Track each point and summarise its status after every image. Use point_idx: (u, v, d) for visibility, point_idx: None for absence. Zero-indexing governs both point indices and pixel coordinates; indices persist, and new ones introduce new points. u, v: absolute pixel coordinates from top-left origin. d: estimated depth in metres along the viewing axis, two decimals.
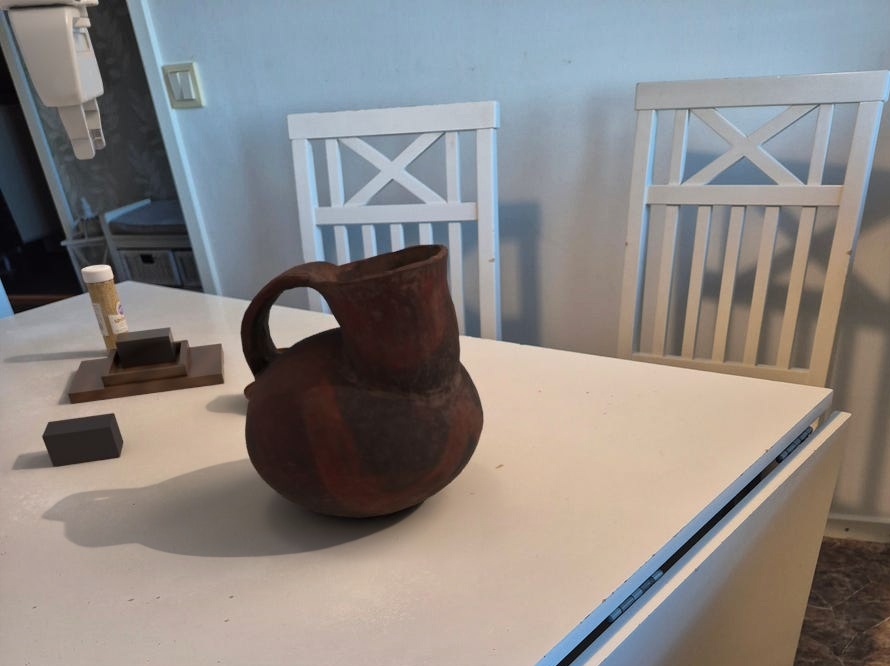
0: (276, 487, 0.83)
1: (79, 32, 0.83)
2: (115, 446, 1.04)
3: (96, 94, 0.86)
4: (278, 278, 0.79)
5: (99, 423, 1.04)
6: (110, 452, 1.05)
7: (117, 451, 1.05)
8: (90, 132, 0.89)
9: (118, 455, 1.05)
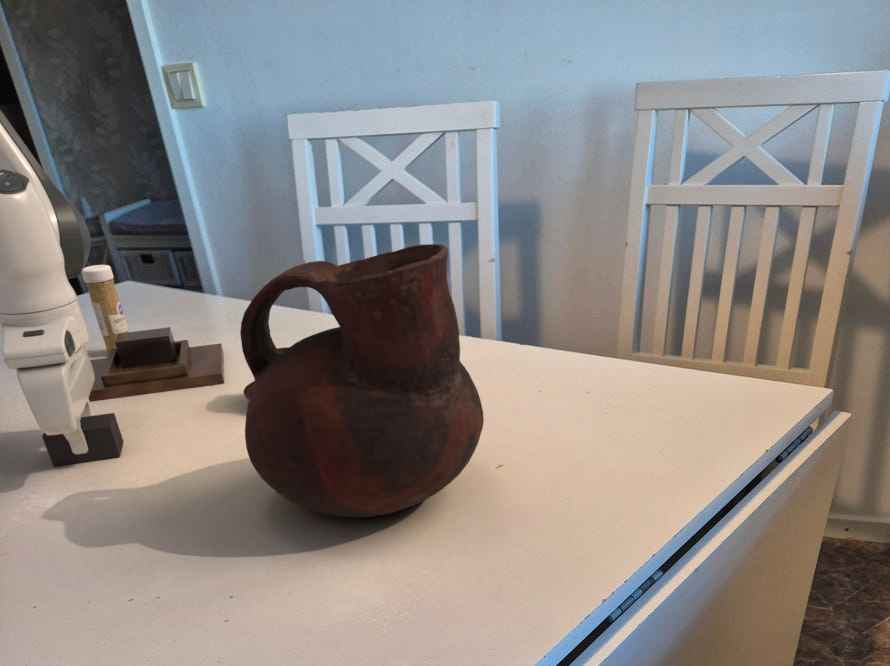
0: (276, 487, 0.83)
1: None
2: (115, 446, 1.04)
3: (88, 396, 1.05)
4: (278, 278, 0.79)
5: (99, 422, 1.04)
6: (110, 452, 1.05)
7: (117, 451, 1.05)
8: None
9: (118, 455, 1.05)
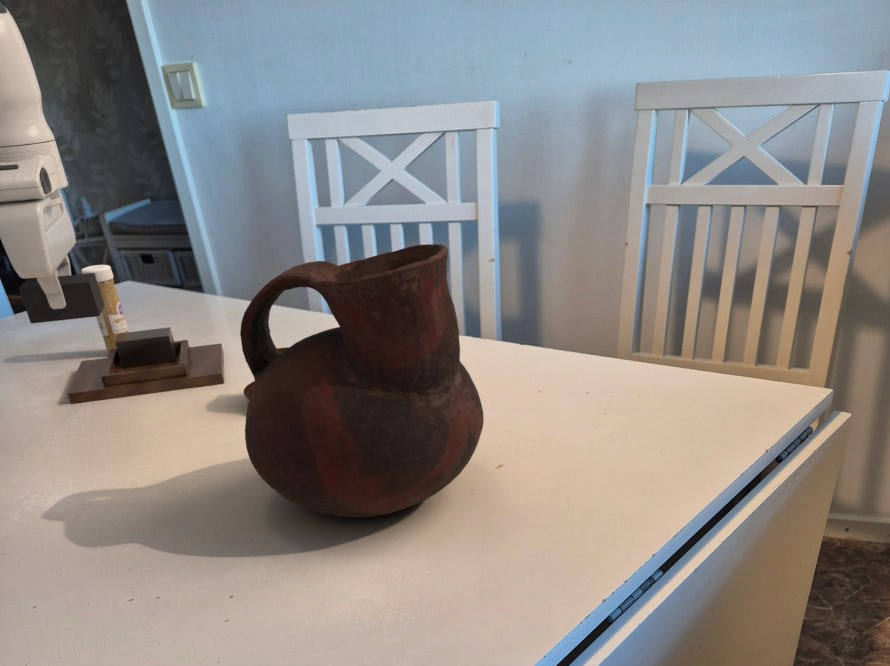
0: (276, 487, 0.83)
1: None
2: (94, 304, 1.01)
3: (67, 252, 1.02)
4: (278, 278, 0.79)
5: (78, 279, 1.01)
6: (89, 310, 1.02)
7: (96, 309, 1.02)
8: None
9: (98, 314, 1.02)
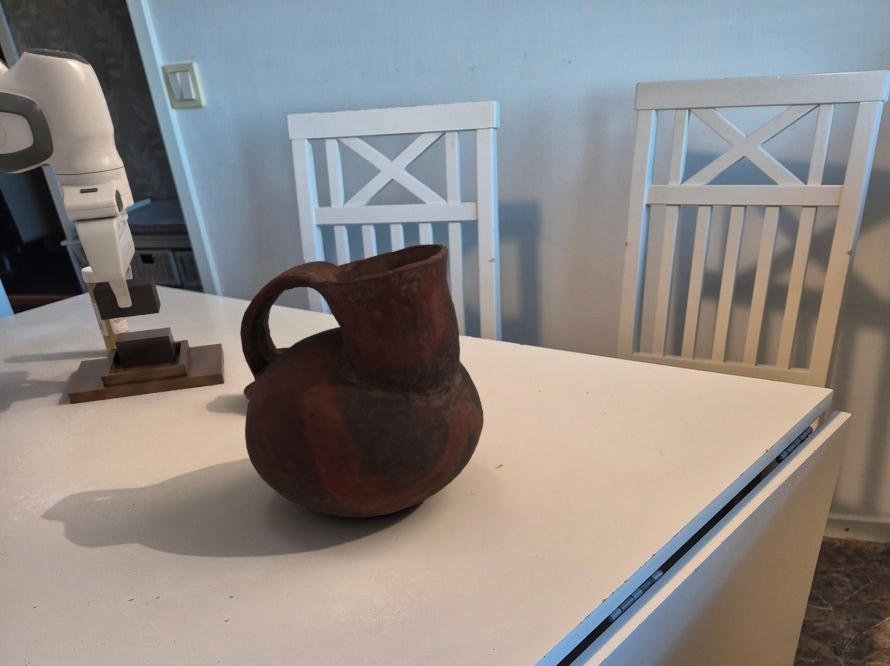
0: (276, 487, 0.83)
1: None
2: (154, 303, 1.20)
3: (131, 259, 1.20)
4: (278, 278, 0.79)
5: (140, 282, 1.20)
6: (150, 308, 1.21)
7: (156, 307, 1.21)
8: None
9: (157, 311, 1.21)
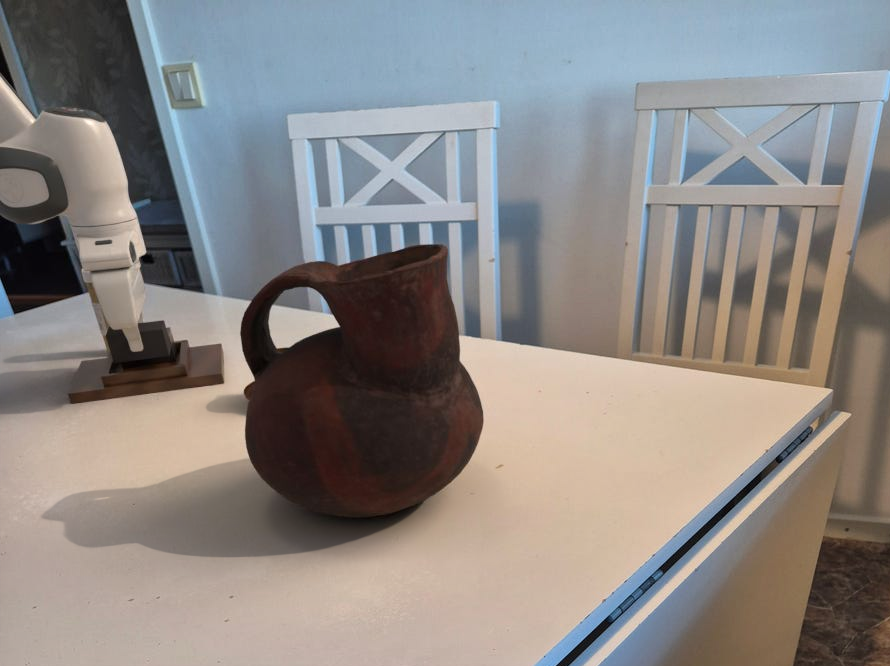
0: (276, 487, 0.83)
1: None
2: (165, 346, 1.24)
3: (142, 304, 1.24)
4: (278, 278, 0.79)
5: (152, 326, 1.24)
6: (161, 352, 1.24)
7: (167, 351, 1.24)
8: None
9: (168, 354, 1.25)
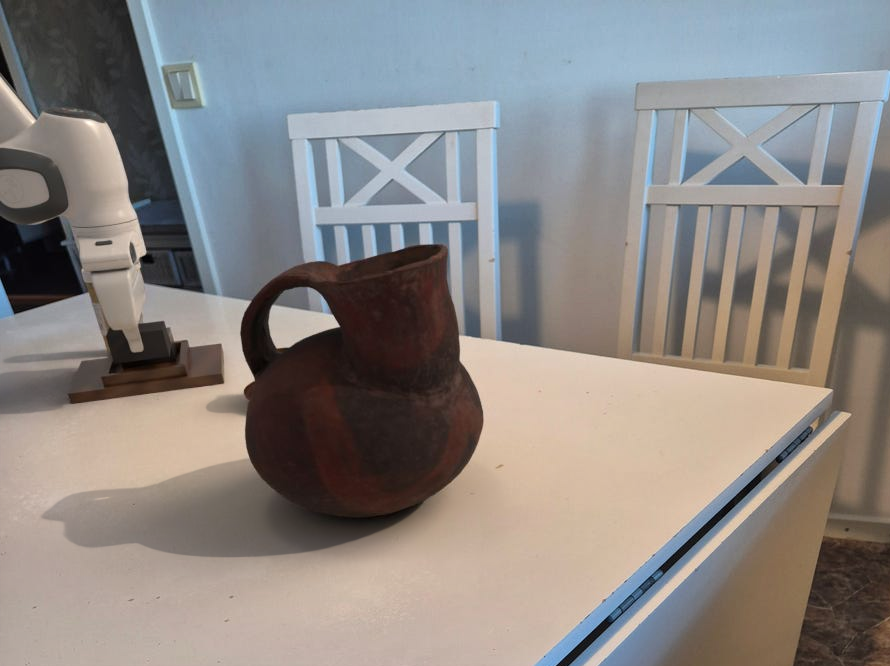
0: (276, 487, 0.83)
1: None
2: (166, 347, 1.24)
3: None
4: (278, 278, 0.79)
5: (152, 327, 1.24)
6: (162, 352, 1.24)
7: (167, 351, 1.24)
8: None
9: (168, 355, 1.25)
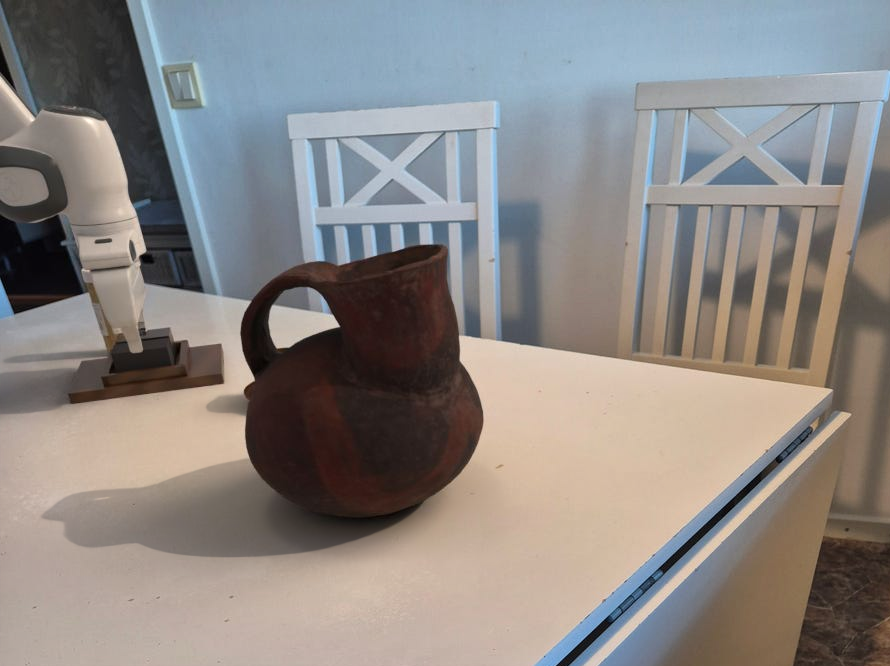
0: (276, 487, 0.83)
1: None
2: (170, 364, 1.25)
3: None
4: (278, 278, 0.79)
5: (157, 344, 1.25)
6: None
7: None
8: (137, 325, 1.27)
9: None
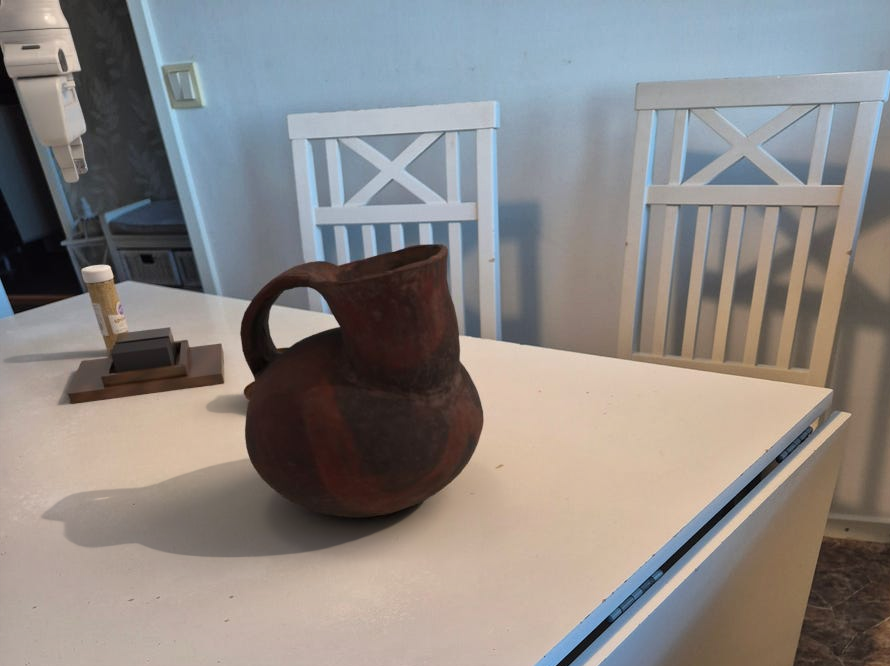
0: (276, 487, 0.83)
1: (67, 90, 1.14)
2: (170, 364, 1.25)
3: (80, 134, 1.17)
4: (278, 278, 0.79)
5: (157, 344, 1.25)
6: None
7: None
8: (76, 161, 1.20)
9: None
